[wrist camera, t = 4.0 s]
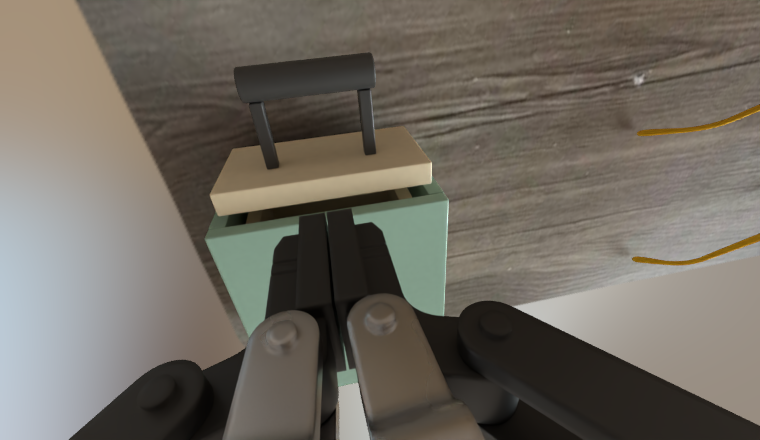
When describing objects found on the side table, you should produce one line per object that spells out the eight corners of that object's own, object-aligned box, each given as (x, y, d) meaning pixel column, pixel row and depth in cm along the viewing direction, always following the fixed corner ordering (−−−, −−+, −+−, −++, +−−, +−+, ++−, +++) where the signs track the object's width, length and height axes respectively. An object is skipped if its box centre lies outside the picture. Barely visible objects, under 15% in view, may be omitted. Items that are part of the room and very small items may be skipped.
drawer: (202, 60, 17) (163, 83, 13) (400, 39, 19) (433, 53, 14) (281, 297, 27) (276, 361, 22) (409, 274, 28) (430, 330, 23)
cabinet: (233, 170, 22) (203, 239, 15) (410, 144, 23) (449, 199, 17) (283, 314, 29) (276, 400, 23) (414, 289, 30) (442, 364, 24)
